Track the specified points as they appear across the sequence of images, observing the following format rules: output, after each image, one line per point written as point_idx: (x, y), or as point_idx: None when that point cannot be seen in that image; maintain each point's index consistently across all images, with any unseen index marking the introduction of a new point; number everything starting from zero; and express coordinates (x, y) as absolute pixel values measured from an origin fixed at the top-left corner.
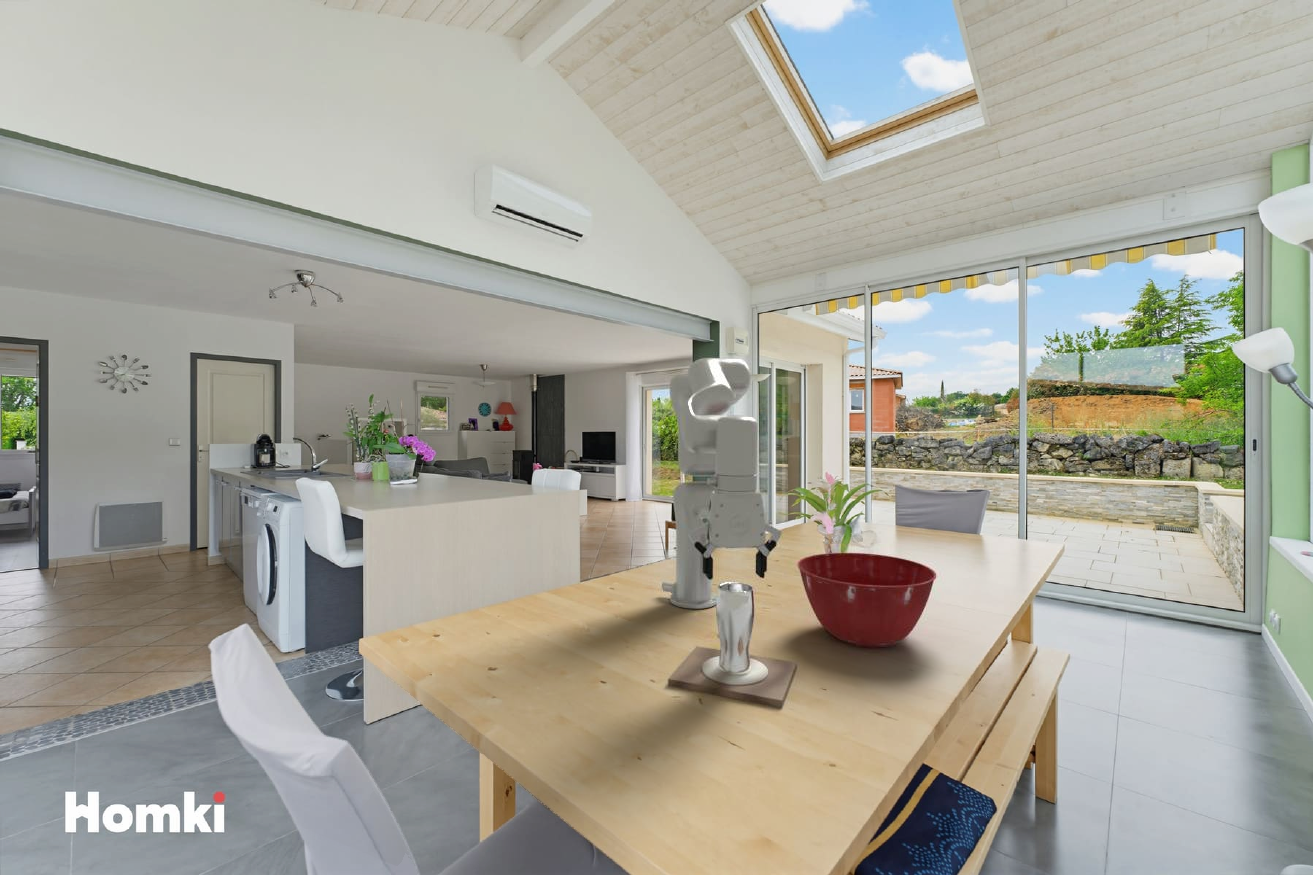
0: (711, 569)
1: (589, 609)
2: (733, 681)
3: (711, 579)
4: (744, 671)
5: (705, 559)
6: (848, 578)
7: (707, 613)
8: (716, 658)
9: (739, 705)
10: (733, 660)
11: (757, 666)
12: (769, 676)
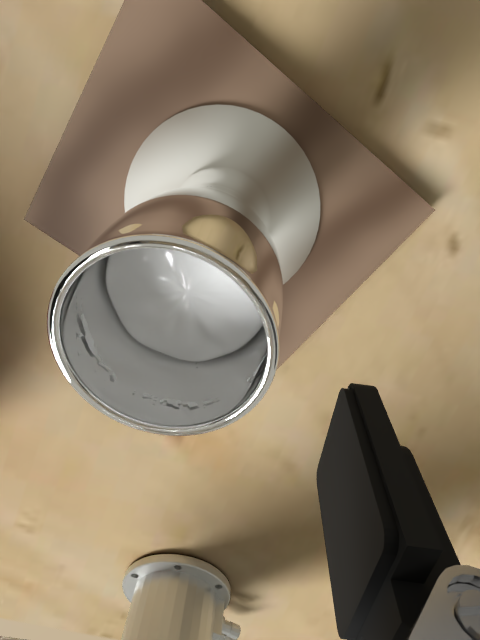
0: (377, 437)
1: None
2: (257, 130)
3: (350, 385)
4: (206, 169)
5: (449, 558)
6: None
7: (167, 532)
8: None
9: (281, 17)
10: (237, 185)
11: None
12: (132, 146)
